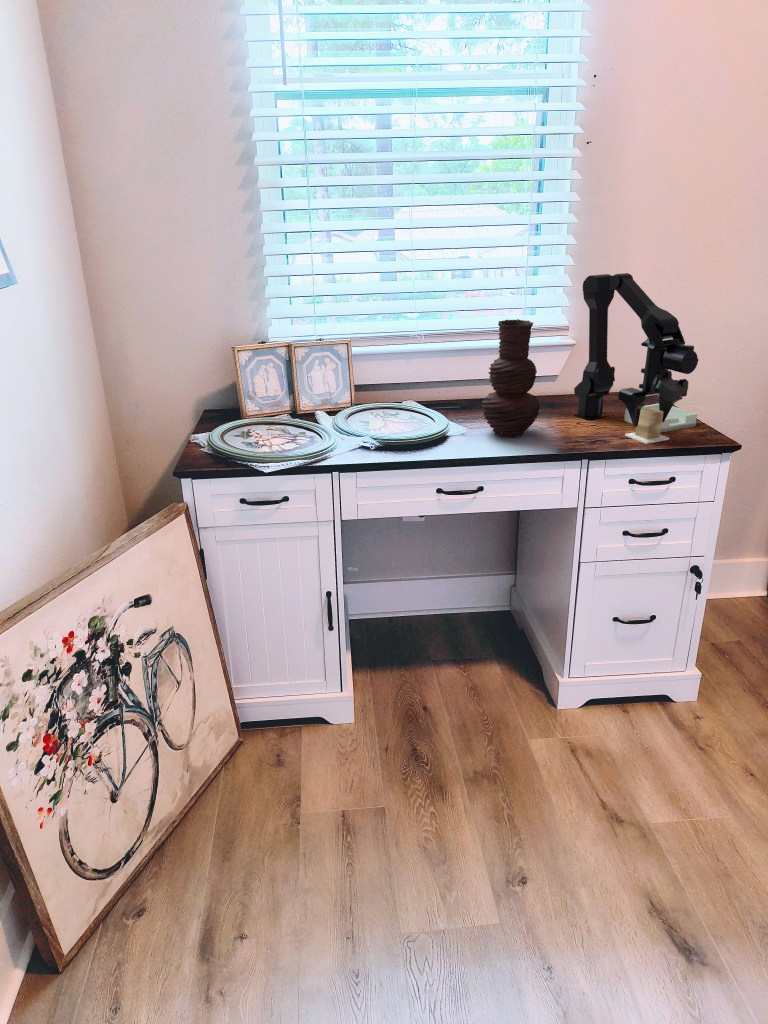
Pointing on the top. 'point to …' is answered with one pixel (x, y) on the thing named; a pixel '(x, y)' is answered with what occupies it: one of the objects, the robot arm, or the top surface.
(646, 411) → the oak block
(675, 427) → the pale green shallow tray
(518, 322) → the vase
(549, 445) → the top surface
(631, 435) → the pad
